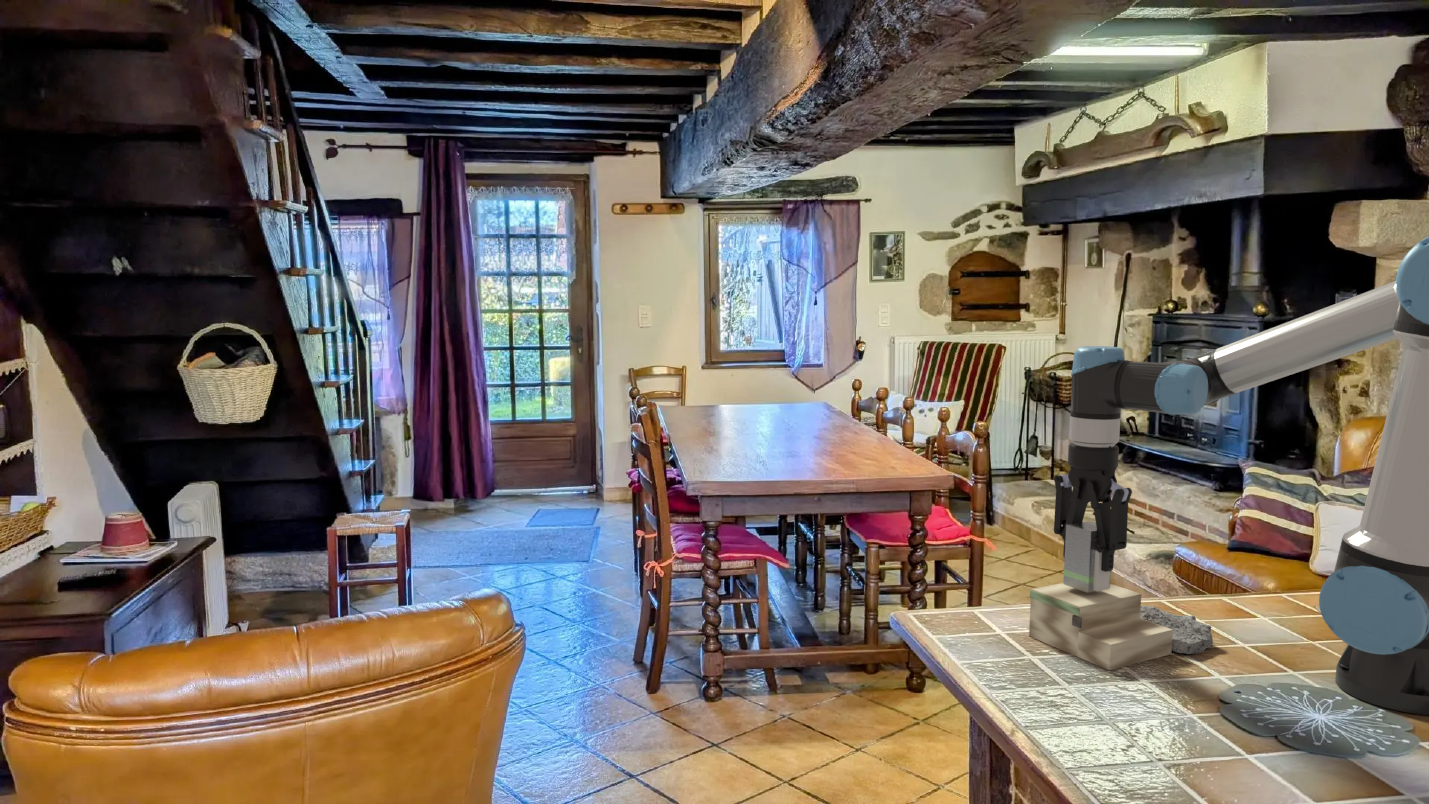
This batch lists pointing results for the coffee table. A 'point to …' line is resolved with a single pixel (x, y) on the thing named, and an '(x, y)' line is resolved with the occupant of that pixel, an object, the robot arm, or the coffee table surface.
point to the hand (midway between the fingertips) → (1086, 584)
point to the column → (1080, 555)
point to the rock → (1181, 630)
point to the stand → (1097, 625)
